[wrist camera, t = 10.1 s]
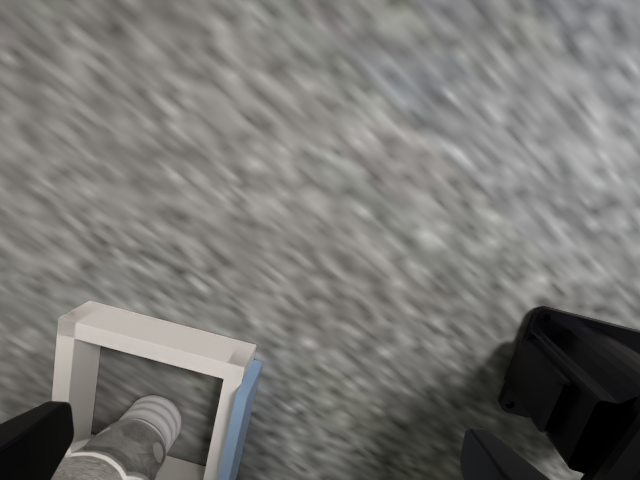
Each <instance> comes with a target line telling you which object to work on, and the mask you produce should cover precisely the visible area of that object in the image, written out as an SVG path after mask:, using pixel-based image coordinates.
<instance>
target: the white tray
mask: <svg viewBox="0 0 640 480" xmlns="http://www.w3.org/2000/svg"><path fill="white" fill-rule="evenodd" d="M101 346H104V347H108V348H111V349H115V350H119V351H122V352H126V353H130V354H134V355H137V356H141V357H145V358H148V359H152V360H156V361H159V362H163V363H167V364H170V365H174V366H178V367H182V368H185V369H189V370H193V371H196V372H200V373H204V374H207V375H211V376H215V377H218V378H222V379H224V381H223V385H222V390H221V395H220V400H219V405H218V410H217V415H216V420H215V425H214V430H213V435H212V440H211V444H210V449H209V454H208V459H207V464H206V466H202V465H199V464H195V463H191V462H188V461H184V460H181V459H177V458H174V457H170V456H166V458H165V463H164V466H163V469H162V472H161V474H160V476H159V479H158V480H236V477H237V474H238V469H239V465H240V460H241V456H242V452H243V447H244V443H245V439H246V434H247V430H248V425H249V421H250V417H251V412H252V408H253V404H254V399H255V395H256V390H257V386H258V382H259V377H260V373H261V369H262V364H263V362H261V361H257V360H254V355H255V351H256V346H257V345H255V344H251V343H247V342H243V341H240V340H236V339H232V338H228V337H225V336H221V335H217V334H213V333H210V332H206V331H202V330H198V329H195V328H191V327H187V326H183V325H180V324H176V323H172V322H168V321H165V320H161V319H157V318H153V317H150V316H146V315H142V314H138V313H135V312H131V311H127V310H123V309H120V308H116V307H112V306H108V305H105V304H101V303H97V302H93V301H88V302H87V303H85V304H83V305H81V306H79V307H77V308H75V309H74V310H72V311H70V312H68V313H66V314H64V315H62V316H61V317H59V318H58V330H57V343H56V355H55V367H54V379H53V391H52V401H63V402H68V403H70V405H71V407H72V415H73V424H74V438H73V441H72V442H76V441H80V440H85V439H88V438H92V437H94V436H95V435H91V429H92V420H93V411H94V402H95V394H96V385H97V376H98V367H99V358H100V349H101Z"/></svg>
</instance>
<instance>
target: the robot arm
mask: <svg viewBox="0 0 640 480" xmlns="http://www.w3.org/2000/svg"><path fill="white" fill-rule="evenodd" d="M545 313H547V317H546V318H544V319H541V316H542V315H543V314H545ZM504 379H505V384H504V386H503V388H502V391H501V393H500V396H499V399H498V402H499V404H500V406H501V408H502V409H503V410H504V411H506V412H509V413H513V414H516V415H520V416H524V417H528V418H531V420H532V421H533V423H534V424H535V426H536V427H537V429H538V430H539V431H540V432H543V433H545V434H546V435H547V437H548V438H549V440H550V441H551V443H552V444H553V445H554V447H555V448H556V450H557V451H558V453H559V454H560V456H561V457H562V458H563V460H564V461H565V463H566V464H567V466H568V467H569V468H570V469H572V470H574V471H578V472H582V473H583V477H582V478H581V480H640V331H639V330H635V329H632V328H628V327H624V326H620V325H616V324H612V323H608V322H604V321H600V320H596V319H593V318H589V317H585V316H581V315H577V314H573V313H569V312H565V311H561V310H558V309H554V308H550V307H546V306H541V307H538V308H537V309H535V311H534V312H533V314H532V317H531V319H530V322H529V324H528V327H527V329H526V332H525V334H524V337H523V339H522V340H521V341H519V343H518V345H517V348H516V350H515V353H514V355H513V358H512V360H511V363H510V365H509V368H508V370H507V373H506V375H505V378H504ZM507 401H511V403H509V404H505V403H506V402H507ZM73 438H74V424H73V415H72V407H71V405H70V403H68V402H63V401H49V402H46V403H44V404H42V405H40V406H38V407H36V408H34V409H32V410H29V411H27V412H25V413H23V414H21V415H19V416H17V417H15V418H13V419H10V420H8V421H6V422H4V423H2V424H0V480H51V479H52V477H53V475H54V473H55V472H56V470H57V468H58V467H59V465H60V463H61V461H62V460H63V458H64V456H65V454H66V453H67V451H68V449H69V447H70V445H71V443H72V441H73ZM460 465H461V470H462V474H463V478H464V480H550V479H548V478H547V477H546V476H545V475H543V474H542V473H541V472H540V471H538V470H537V469H536V468H535V467H533V466H532V465H531V464H530V463H528V462H527V461H526V460H525V459H523V458H522V457H521V456H520V455H518V454H517V453H516V452H515V451H513V450H512V449H511V448H510V447H508V446H507V445H506V444H505V443H503V442H502V441H501V440H499V439H498V438H497V437H496V436H494V435H493V434H492V433H491V432H489V431H488V430H487V429H484V428H468V429H467V430H466V432H465V436H464V441H463V446H462V451H461V456H460Z"/></svg>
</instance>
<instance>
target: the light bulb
mask: <svg viewBox="0 0 640 480" xmlns="http://www.w3.org/2000/svg"><path fill="white" fill-rule="evenodd" d="M181 426H182V420H181V415H180V413H179V411H178V409H177V407H176V406H175V404H174V403H173V402H172V401H170V400H169V399H167V398H164V397H160V396H156V395H149V396H144V397H142V398H140V399H138V400H137V401H136V402H135V403H134V404H133V405H132V407H130V408H129V409H128V410H127V412H126V413H125V414H124V415H123V416H122V417H121V418H120V420H119V421H117V422H115V423H112V424H111V425H109V426H108V427H106V428H105V429H103V430H102V431H101V432H100V433H99V434H97V435H96V436H94V437H92V438H88V439H85V440H80V441H76V442H72V443H71V445H70V447H69V449H68V451H67V453H66V454H65V456H64V458H63V460H62V461H61V463H60V465H59V467H58V468H57V470H56V472H55V473H54V475H53V477H52V479H51V480H158V479H159V476H160V474H161V472H162V469H163V466H164V463H165V458H166V454H167V452H168V451H169V449H170V447H171V446H172V444H173V443H174V441H175V439H176V438H177V436H178V435H179V433H180V430H181Z"/></svg>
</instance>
